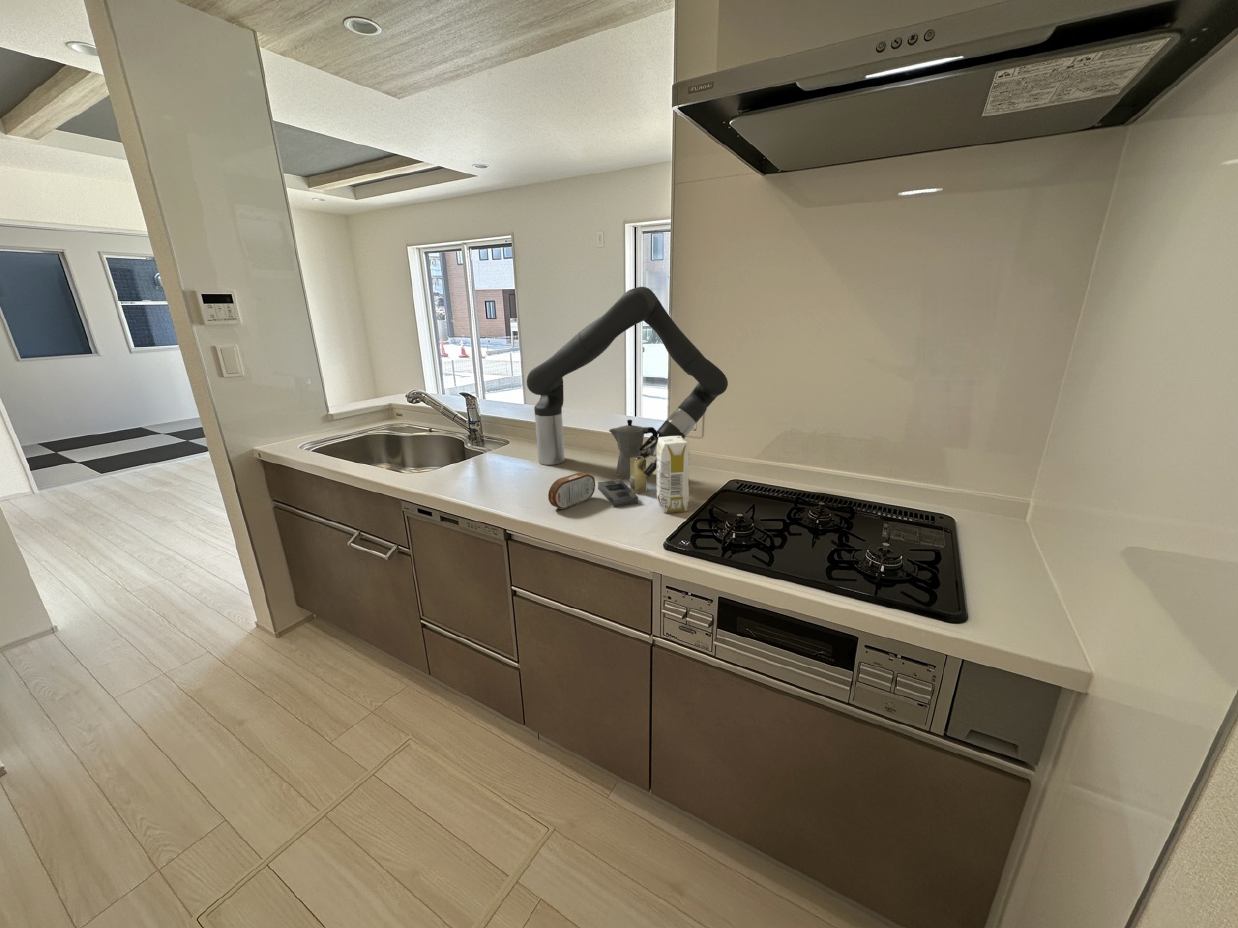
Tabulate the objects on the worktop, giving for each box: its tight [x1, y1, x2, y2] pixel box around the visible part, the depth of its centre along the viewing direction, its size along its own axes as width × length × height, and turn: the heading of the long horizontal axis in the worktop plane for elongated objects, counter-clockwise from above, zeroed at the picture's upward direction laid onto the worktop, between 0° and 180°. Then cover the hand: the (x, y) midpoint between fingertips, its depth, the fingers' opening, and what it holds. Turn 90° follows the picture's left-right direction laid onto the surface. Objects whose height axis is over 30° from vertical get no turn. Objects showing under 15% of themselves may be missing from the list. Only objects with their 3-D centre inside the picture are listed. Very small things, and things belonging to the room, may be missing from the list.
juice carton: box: [656, 436, 691, 514], centre depth 128 cm, size 8×9×19 cm
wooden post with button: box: [629, 456, 647, 494], centre depth 141 cm, size 4×4×10 cm
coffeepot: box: [608, 419, 659, 479], centre depth 154 cm, size 15×9×18 cm, turn 84°
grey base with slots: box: [597, 479, 639, 508], centre depth 139 cm, size 15×7×2 cm, turn 19°
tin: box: [547, 471, 596, 510], centre depth 133 cm, size 15×3×8 cm, turn 135°
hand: (640, 470), depth 141 cm, fingers open, 8 cm apart
